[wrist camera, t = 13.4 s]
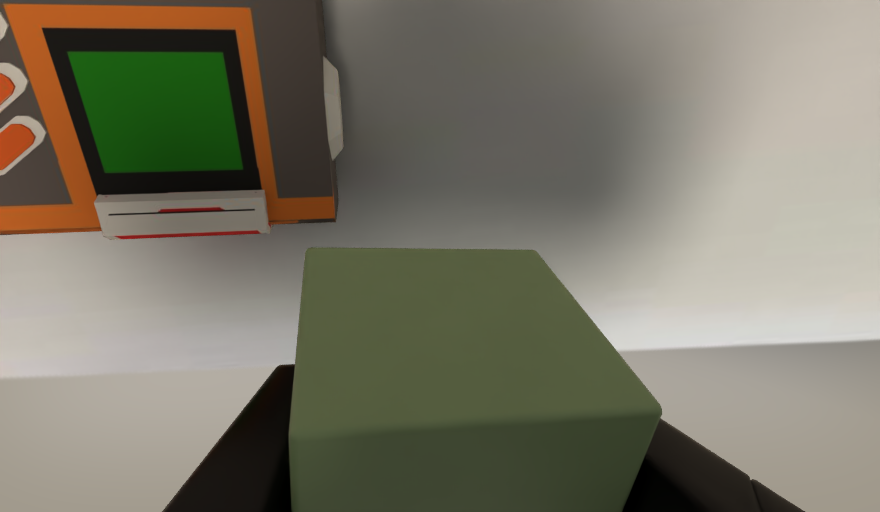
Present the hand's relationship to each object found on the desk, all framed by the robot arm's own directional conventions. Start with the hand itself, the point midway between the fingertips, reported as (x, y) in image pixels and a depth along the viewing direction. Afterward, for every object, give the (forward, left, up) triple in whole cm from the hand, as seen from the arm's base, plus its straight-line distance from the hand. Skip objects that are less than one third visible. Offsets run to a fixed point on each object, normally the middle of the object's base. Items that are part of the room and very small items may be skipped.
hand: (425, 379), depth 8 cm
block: (0, 0, -1) cm, 1 cm away
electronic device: (+8, +5, -11) cm, 14 cm away
